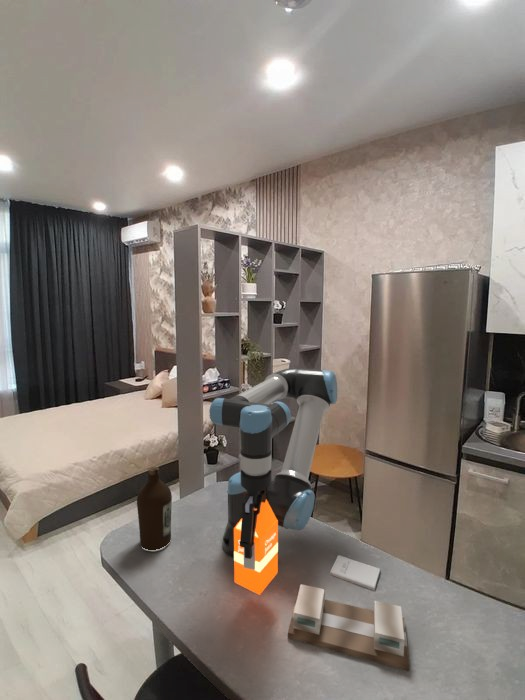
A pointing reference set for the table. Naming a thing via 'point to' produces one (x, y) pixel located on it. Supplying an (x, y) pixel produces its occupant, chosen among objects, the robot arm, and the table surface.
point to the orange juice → (258, 552)
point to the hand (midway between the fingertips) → (256, 553)
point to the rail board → (350, 628)
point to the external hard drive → (355, 572)
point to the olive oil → (154, 512)
